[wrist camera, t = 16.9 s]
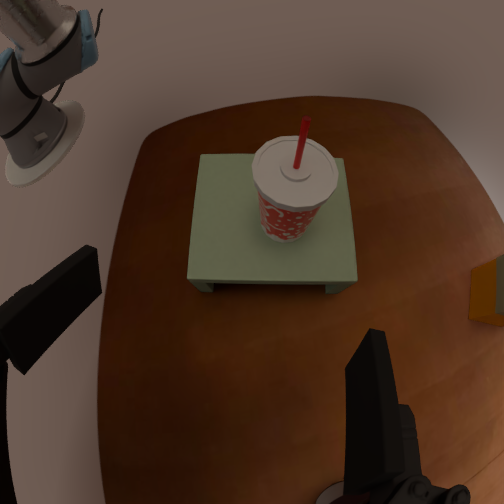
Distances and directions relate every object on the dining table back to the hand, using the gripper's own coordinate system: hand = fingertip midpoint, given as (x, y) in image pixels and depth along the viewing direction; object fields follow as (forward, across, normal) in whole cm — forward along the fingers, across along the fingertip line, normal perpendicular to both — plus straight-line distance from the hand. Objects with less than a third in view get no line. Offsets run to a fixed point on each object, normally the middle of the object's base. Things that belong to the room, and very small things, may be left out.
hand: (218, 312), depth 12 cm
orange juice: (+22, +36, -6) cm, 42 cm away
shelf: (+22, 0, -6) cm, 23 cm away
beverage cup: (+17, +2, -2) cm, 17 cm away
